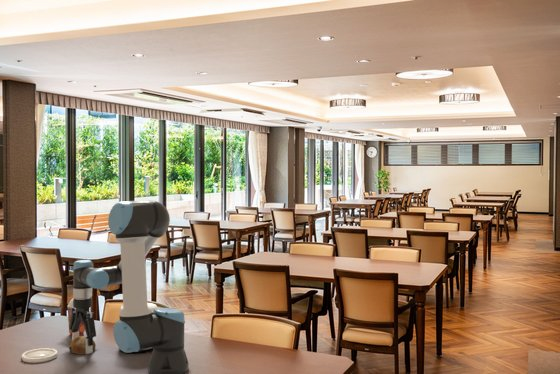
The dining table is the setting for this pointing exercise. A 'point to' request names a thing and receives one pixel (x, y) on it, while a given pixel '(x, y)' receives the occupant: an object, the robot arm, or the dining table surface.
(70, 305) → the smoothie
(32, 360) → the plate
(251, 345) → the dining table surface
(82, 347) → the bread roll
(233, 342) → the dining table surface
